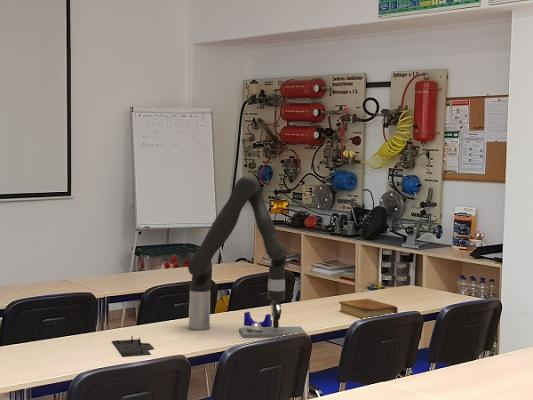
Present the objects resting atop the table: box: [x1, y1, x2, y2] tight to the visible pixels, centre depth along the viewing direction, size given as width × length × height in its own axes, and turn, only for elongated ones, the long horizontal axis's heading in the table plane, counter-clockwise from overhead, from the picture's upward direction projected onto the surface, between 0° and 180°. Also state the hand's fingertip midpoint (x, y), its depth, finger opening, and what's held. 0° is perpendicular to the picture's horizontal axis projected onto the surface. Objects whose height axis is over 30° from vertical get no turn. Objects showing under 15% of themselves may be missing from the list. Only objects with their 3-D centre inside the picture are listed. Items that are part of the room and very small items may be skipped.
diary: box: [338, 298, 399, 320], centre depth 411 cm, size 23×19×6 cm
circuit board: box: [111, 335, 155, 358], centre depth 339 cm, size 25×14×3 cm, turn 20°
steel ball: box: [250, 322, 262, 333], centre depth 366 cm, size 5×5×5 cm
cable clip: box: [243, 311, 273, 327], centre depth 382 cm, size 12×4×6 cm, turn 68°
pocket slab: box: [238, 325, 307, 339], centre depth 367 cm, size 28×13×2 cm, turn 99°
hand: (275, 327), depth 367 cm, fingers closed
